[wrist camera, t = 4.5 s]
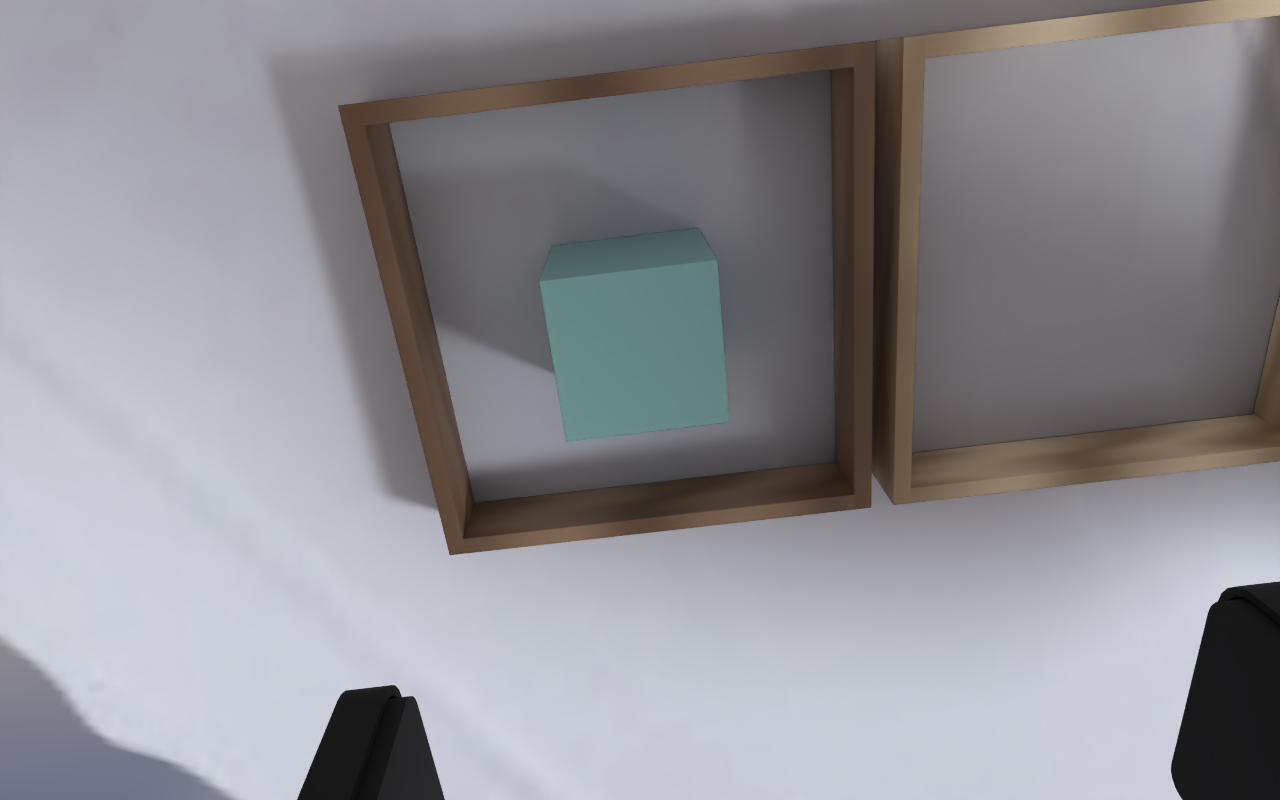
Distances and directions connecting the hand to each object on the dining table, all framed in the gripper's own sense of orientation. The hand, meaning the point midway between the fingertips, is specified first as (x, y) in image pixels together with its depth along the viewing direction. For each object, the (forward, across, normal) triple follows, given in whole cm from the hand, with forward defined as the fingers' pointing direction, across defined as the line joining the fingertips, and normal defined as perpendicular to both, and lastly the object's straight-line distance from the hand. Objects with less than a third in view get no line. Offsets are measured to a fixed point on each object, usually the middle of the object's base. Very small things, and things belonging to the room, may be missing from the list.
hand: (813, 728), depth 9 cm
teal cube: (+19, +1, 0) cm, 19 cm away
